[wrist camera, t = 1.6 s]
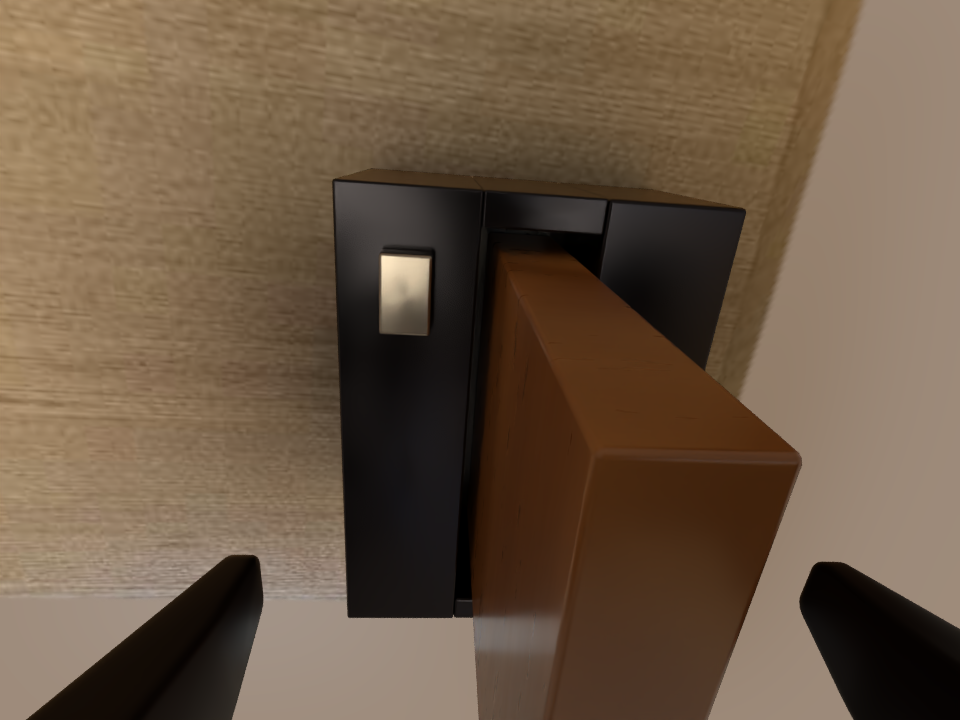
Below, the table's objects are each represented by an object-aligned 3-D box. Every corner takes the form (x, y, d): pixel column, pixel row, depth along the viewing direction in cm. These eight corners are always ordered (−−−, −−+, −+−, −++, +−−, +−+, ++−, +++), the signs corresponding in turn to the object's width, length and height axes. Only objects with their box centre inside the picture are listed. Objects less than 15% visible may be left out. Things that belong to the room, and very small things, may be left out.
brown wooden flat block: (466, 510, 16) (493, 999, 7) (488, 231, 13) (596, 450, 4) (516, 510, 16) (610, 992, 7) (551, 235, 13) (810, 456, 4)
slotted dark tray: (372, 498, 18) (344, 635, 13) (369, 168, 14) (325, 180, 9) (593, 503, 19) (647, 635, 14) (653, 189, 15) (763, 211, 10)
